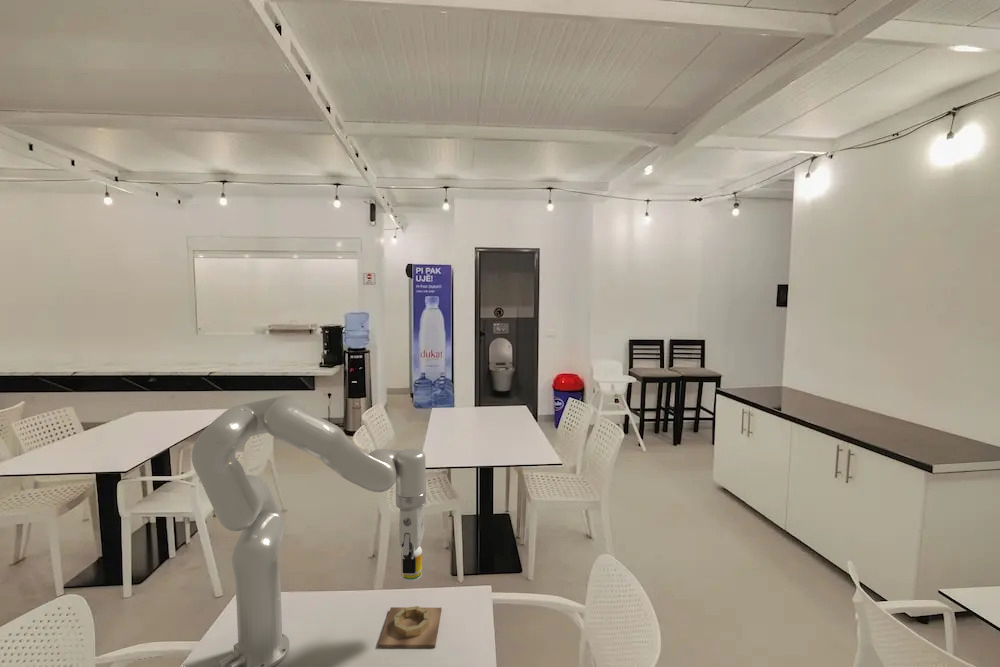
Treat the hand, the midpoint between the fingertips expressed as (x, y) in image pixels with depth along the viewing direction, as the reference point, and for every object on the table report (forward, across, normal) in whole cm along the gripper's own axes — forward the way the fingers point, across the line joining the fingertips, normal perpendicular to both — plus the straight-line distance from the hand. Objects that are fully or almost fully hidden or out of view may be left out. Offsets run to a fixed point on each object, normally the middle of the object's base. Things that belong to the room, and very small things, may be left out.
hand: (411, 565), depth 124 cm
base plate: (+17, 0, 0) cm, 17 cm away
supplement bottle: (+3, 0, 0) cm, 3 cm away
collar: (+17, 0, 0) cm, 17 cm away
